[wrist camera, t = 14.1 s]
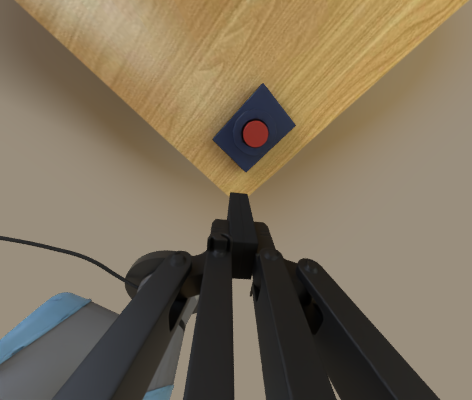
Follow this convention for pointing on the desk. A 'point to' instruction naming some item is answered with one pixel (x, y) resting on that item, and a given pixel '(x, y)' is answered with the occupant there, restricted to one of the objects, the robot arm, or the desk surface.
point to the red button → (255, 133)
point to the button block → (253, 109)
